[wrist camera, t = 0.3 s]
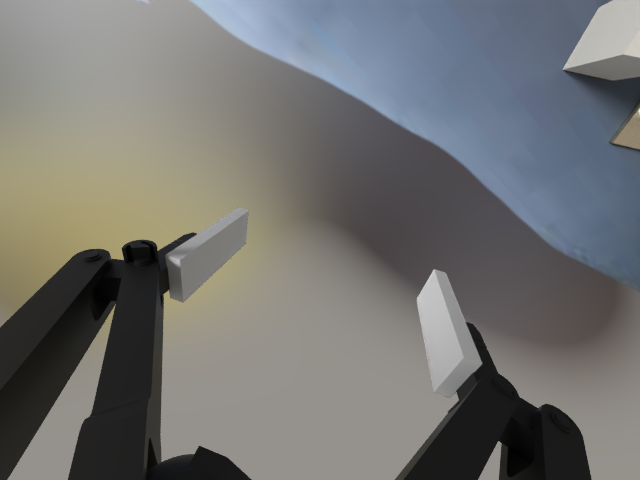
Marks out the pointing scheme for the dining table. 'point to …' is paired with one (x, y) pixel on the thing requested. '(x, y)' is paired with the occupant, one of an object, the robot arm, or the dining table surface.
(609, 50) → the cream cuboid
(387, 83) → the dining table surface
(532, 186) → the dining table surface
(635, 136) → the square base with post
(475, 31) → the dining table surface
